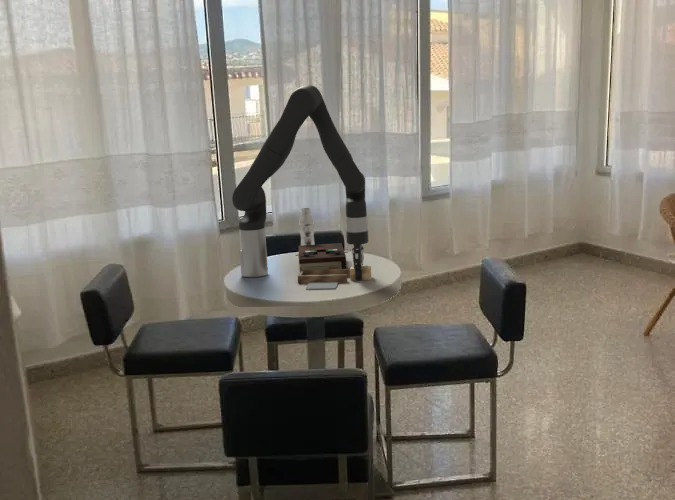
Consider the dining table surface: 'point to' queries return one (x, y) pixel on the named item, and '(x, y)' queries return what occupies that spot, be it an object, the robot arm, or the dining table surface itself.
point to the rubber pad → (321, 285)
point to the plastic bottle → (306, 227)
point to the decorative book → (322, 257)
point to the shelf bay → (323, 275)
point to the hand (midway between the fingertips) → (359, 277)
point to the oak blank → (365, 273)
